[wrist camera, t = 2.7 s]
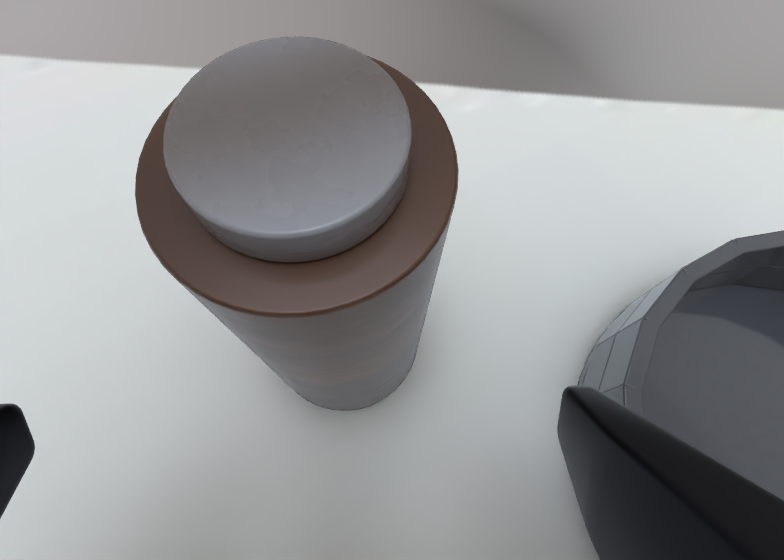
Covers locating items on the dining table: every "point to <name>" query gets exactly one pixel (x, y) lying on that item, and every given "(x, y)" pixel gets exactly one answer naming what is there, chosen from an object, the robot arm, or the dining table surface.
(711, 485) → the robot arm
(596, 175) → the dining table surface
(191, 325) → the dining table surface
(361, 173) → the pepper mill
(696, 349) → the pan
